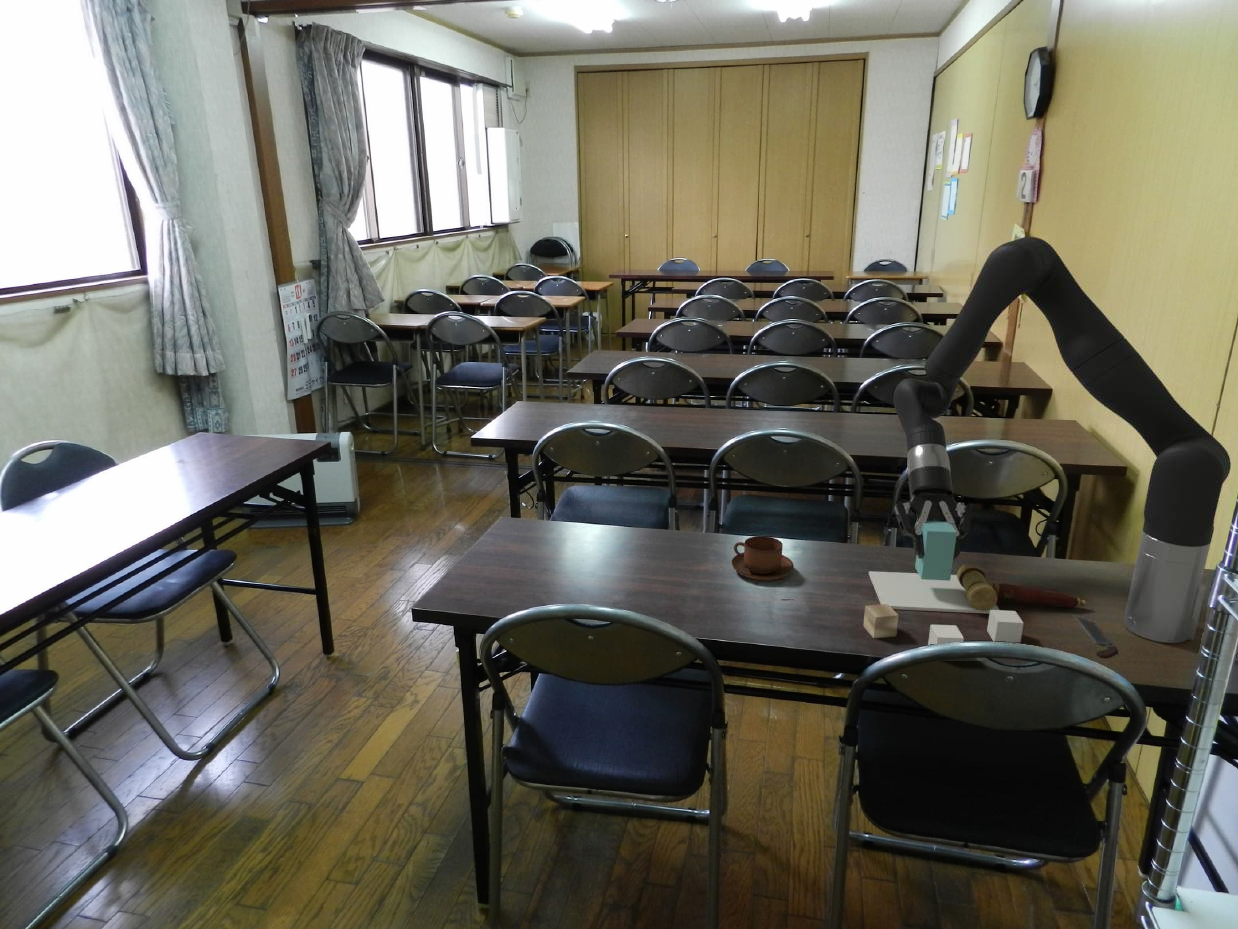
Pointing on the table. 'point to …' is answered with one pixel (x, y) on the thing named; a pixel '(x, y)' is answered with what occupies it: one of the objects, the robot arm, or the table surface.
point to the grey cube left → (1005, 626)
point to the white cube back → (944, 634)
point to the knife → (1097, 637)
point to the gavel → (1007, 591)
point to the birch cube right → (880, 620)
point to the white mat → (922, 593)
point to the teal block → (937, 551)
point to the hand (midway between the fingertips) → (937, 557)
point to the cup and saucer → (762, 559)
